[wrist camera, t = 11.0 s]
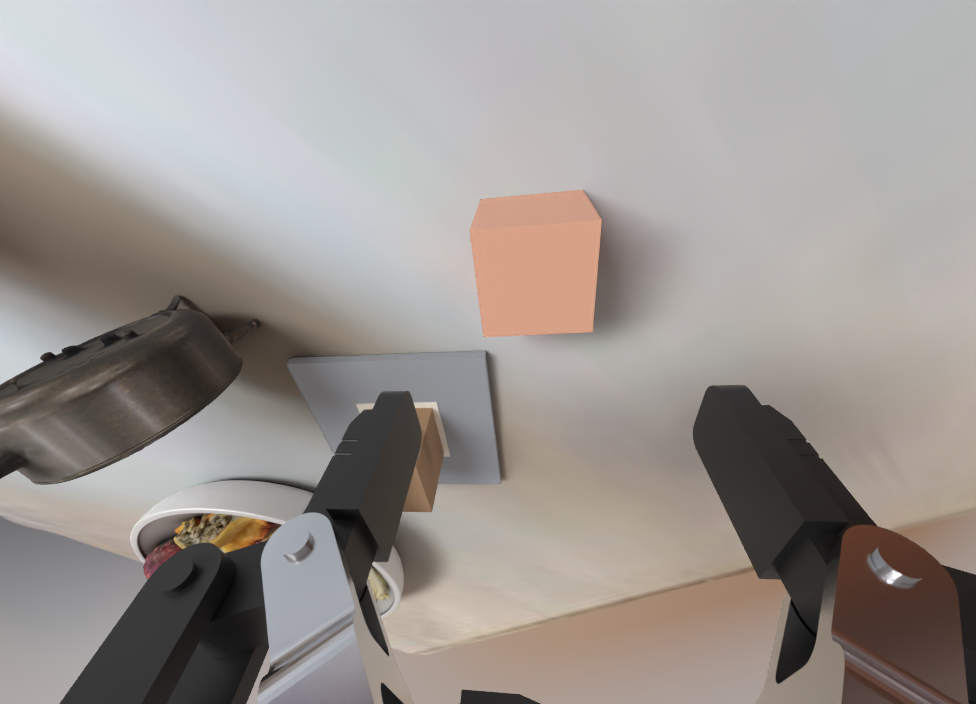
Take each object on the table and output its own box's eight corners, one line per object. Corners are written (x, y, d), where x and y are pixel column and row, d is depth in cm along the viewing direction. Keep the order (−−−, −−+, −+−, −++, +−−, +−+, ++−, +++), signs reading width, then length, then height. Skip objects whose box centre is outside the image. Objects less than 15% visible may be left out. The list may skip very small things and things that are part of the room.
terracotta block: (490, 289, 23) (483, 337, 19) (480, 198, 20) (469, 230, 15) (577, 283, 22) (592, 332, 18) (582, 189, 19) (601, 219, 15)
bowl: (356, 455, 35) (320, 537, 28) (437, 587, 52) (426, 656, 45) (106, 471, 40) (27, 544, 33) (255, 587, 57) (222, 650, 50)
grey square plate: (352, 476, 36) (349, 484, 35) (291, 357, 27) (284, 365, 27) (500, 476, 34) (500, 484, 34) (485, 350, 26) (484, 358, 25)
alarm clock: (172, 364, 29) (-117, 593, 16) (114, 306, 26) (-304, 530, 13) (285, 336, 26) (53, 580, 13) (235, 268, 23) (-128, 498, 10)
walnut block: (384, 453, 32) (362, 511, 28) (365, 409, 29) (337, 467, 24) (443, 452, 31) (431, 511, 27) (432, 407, 28) (415, 466, 24)
